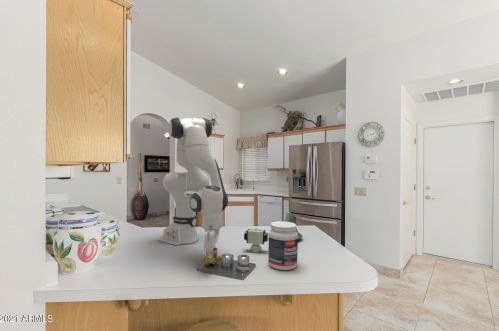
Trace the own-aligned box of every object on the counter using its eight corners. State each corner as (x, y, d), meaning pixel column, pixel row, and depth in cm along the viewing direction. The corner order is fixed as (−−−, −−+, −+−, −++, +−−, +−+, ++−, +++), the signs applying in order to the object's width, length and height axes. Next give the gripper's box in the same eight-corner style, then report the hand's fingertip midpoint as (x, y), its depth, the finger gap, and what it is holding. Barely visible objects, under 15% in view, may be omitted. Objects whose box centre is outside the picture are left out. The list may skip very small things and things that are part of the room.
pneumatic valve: (266, 254, 126) (267, 230, 126) (243, 252, 129) (243, 228, 128) (267, 250, 132) (268, 227, 132) (245, 248, 134) (246, 225, 134)
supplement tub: (291, 274, 104) (292, 229, 104) (263, 267, 110) (263, 225, 110) (301, 263, 115) (302, 223, 115) (275, 258, 122) (275, 219, 121)
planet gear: (201, 263, 108) (201, 251, 108) (205, 256, 115) (205, 245, 115) (218, 264, 107) (218, 252, 107) (221, 257, 115) (221, 246, 115)
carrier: (196, 270, 106) (196, 254, 106) (213, 259, 119) (213, 244, 119) (243, 280, 98) (243, 262, 98) (255, 266, 111) (256, 251, 111)
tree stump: (263, 237, 158) (269, 208, 160) (291, 242, 163) (297, 215, 165) (273, 244, 140) (281, 212, 142) (305, 250, 145) (312, 219, 147)
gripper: (216, 229, 101) (215, 264, 101) (221, 218, 121) (221, 247, 121) (200, 229, 101) (199, 264, 101) (208, 218, 121) (207, 247, 121)
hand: (211, 254), depth 111 cm, fingers closed on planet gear, 5 cm apart
